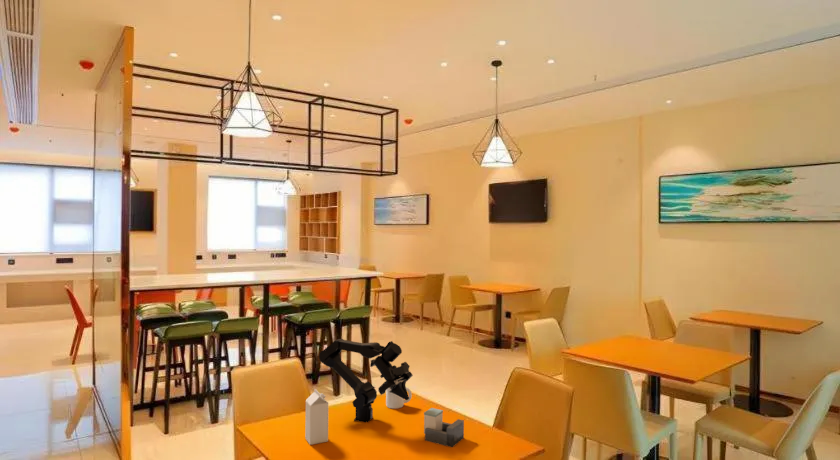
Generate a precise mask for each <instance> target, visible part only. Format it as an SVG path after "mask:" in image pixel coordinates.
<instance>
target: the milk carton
mask: <svg viewBox="0 0 840 460" xmlns="http://www.w3.org/2000/svg"><path fill="white" fill-rule="evenodd" d="M313 390H314V391H313V392H312V393H311V394H310V395H309V396H308V397H307V398H306V400H305V426H304V427H305V431H304V432H305V436H304V438H305V440H306V441H307V443H308V444H309V446H311V445H316V444H321V443H322V444H323V443H326V442H329V402H328V401H327V400H326V399H325V398H326V395H325V394H324V393H323V392H321V393H320V392H319V391H318V389H316V388H314V389H313Z"/></svg>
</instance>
